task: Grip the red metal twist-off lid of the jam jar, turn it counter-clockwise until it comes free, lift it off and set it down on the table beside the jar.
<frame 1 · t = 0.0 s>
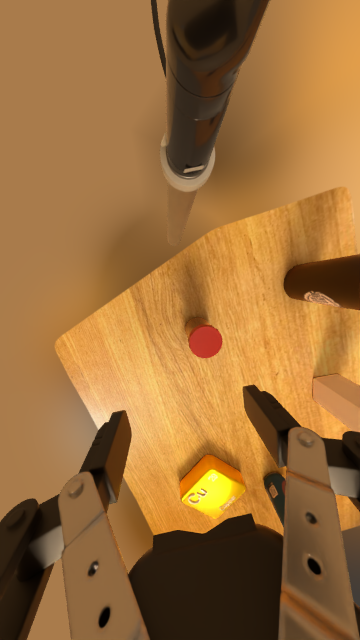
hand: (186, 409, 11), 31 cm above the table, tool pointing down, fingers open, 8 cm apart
jar lid: (205, 341, 33), point 10 cm above the table, screwed on, not yet turned
soda can: (272, 478, 56), on the table
element tile: (210, 477, 54), on the table
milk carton: (323, 385, 50), on the table
water bottle: (299, 282, 42), on the table
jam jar: (197, 328, 43), on the table
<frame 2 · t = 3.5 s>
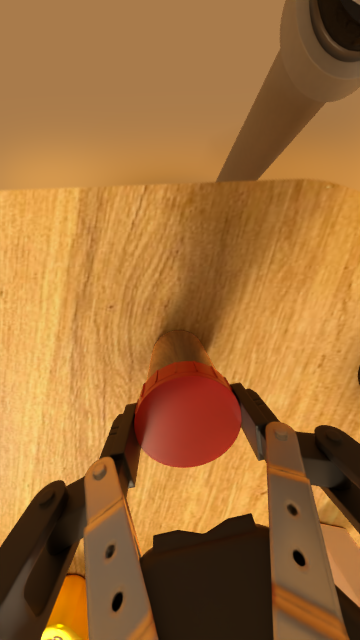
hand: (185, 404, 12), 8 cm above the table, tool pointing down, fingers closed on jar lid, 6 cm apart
jar lid: (188, 419, 11), point 10 cm above the table, screwed on, not yet turned, touching gripper
element tile: (60, 608, 29), on the table
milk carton: (315, 536, 29), on the table
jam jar: (178, 354, 20), on the table
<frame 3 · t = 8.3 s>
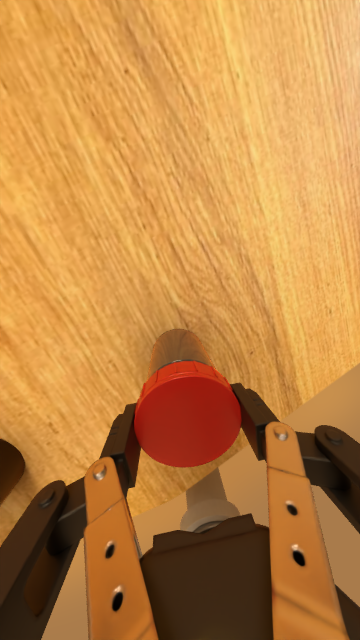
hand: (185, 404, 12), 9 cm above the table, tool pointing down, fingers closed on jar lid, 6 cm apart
jar lid: (188, 419, 11), point 10 cm above the table, turned 144° so far, risen 0.4 cm, still on its thread, touching gripper
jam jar: (178, 353, 20), on the table
when the fingers open (0 cm above the table, at t = 15.5 s): jar lid stays where it is, point 1 cm above the table.
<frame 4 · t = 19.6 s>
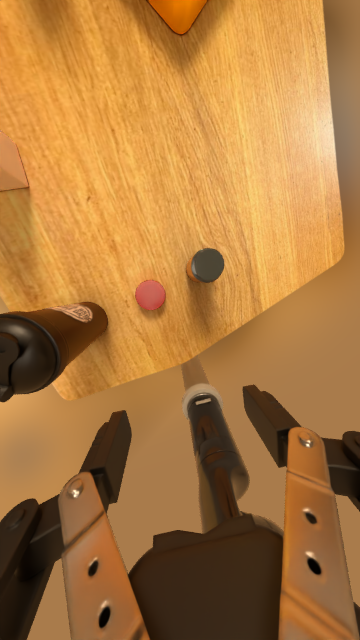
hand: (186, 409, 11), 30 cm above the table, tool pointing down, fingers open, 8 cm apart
jar lid: (150, 295, 38), point 1 cm above the table, off its thread
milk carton: (5, 169, 32), on the table
water bottle: (89, 320, 40), on the table
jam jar: (199, 269, 39), on the table
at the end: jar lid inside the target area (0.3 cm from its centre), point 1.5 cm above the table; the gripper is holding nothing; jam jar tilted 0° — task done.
